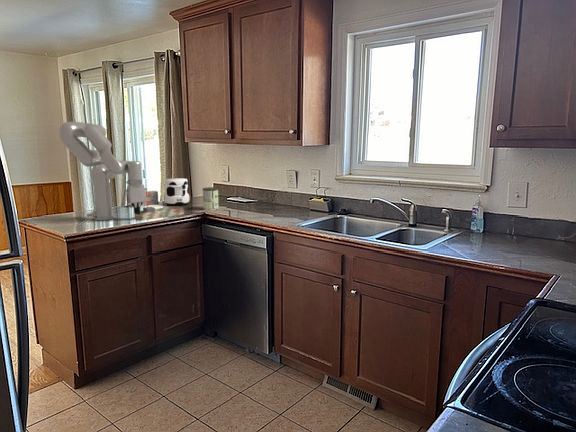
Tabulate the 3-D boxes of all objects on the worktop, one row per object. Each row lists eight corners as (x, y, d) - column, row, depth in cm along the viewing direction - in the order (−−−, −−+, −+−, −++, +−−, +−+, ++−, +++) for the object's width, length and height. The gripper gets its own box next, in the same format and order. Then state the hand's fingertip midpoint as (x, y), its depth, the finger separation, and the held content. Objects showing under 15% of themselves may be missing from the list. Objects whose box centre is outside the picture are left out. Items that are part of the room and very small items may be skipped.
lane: (142, 220, 252) (142, 213, 251) (134, 218, 258) (134, 211, 258) (184, 214, 272) (183, 208, 271) (175, 212, 278) (175, 206, 278)
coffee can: (205, 207, 298) (205, 187, 295) (220, 208, 297) (219, 187, 294) (201, 210, 288) (200, 188, 285) (216, 210, 287) (216, 189, 284)
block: (147, 215, 256) (147, 208, 256) (143, 214, 260) (142, 207, 259) (155, 214, 260) (154, 207, 259) (150, 213, 263) (150, 206, 263)
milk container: (176, 202, 323) (175, 177, 319) (194, 203, 315) (193, 178, 312) (159, 205, 307) (158, 179, 304) (178, 207, 300) (177, 180, 296)
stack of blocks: (153, 203, 317) (152, 186, 314) (158, 204, 313) (157, 187, 311) (126, 206, 300) (125, 189, 298) (131, 207, 296) (130, 189, 294)
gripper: (125, 184, 243) (128, 216, 246) (150, 182, 254) (152, 213, 257) (119, 183, 248) (121, 214, 251) (144, 181, 259) (145, 211, 262)
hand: (137, 214), depth 254 cm, fingers closed
